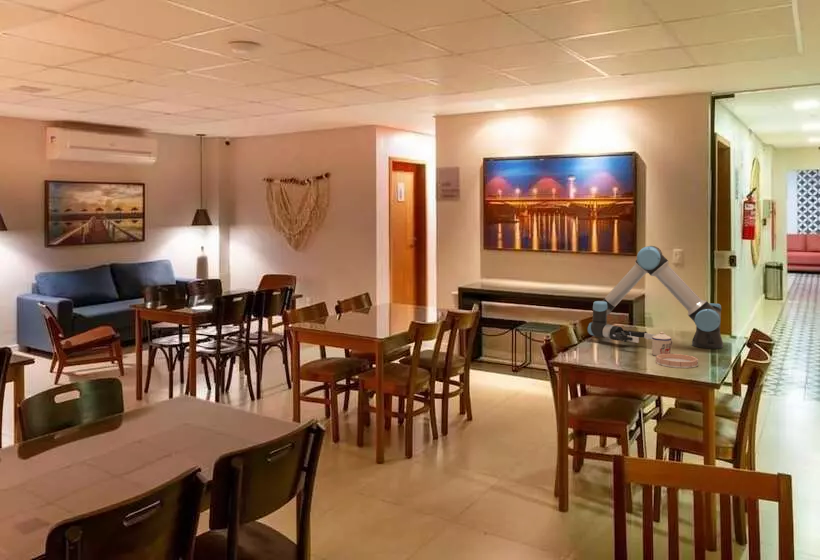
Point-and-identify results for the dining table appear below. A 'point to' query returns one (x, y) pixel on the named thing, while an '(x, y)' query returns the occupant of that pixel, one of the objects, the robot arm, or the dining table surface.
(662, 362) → the round tray
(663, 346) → the teacup with lid
